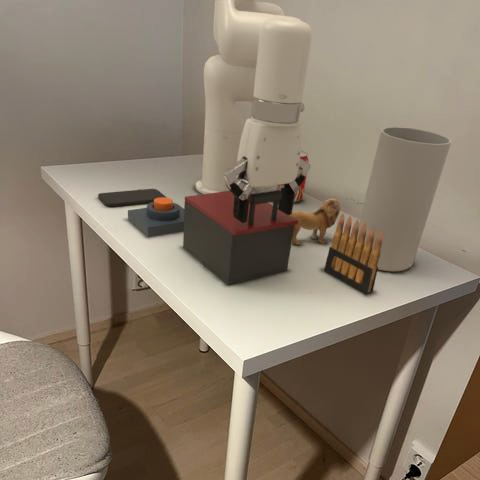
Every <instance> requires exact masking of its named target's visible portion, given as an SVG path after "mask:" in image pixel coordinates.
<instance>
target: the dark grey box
mask: <svg viewBox="0 0 480 480" xmlns="http://www.w3.org/2000/svg"><path fill="white" fill-rule="evenodd" d="M183 208H184V231H183V237H182V248H183V250H184V251H186V252H187V253H188V254H189V255H191V256H192V257H193V258H195V259H196V260H197V261H198V262H199V263H201V264H202V265H203V266H204V267H205V268H207V269H208V271H210V272H211V273H212V274H214V276H216V277H217V278H219V280H221V282H224V283H225V284H226V285H227V286H231V285H234V284H238V283H242V282H246V281H250V280H254V279H258V278H263V277H267V276H270V275H274V274H279V273H283V272H288V267H289V261H290V254H291V250H292V249H291V248H292V243H293V240H292V237H293V231H294V225H290V226H285V227H280V228H274V229H269V230H264V231H258V232H253V233H248V234H242V235H237V236H235V235H233V234H232V233H231V232H229V231H228V230H226V229H225V228H223V227H222V226H221V225H219V224H218V223H216V222H215V221H213V220H212V219H211V218H209V217H208V216H206V215H205V214H203V213H202V212H201V211H199V210H198V209H196V208H195V207H193V206H192V205H191V204H189V203H188V202H186V201H185V200H184V207H183Z"/></svg>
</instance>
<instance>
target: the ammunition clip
mask: <svg viewBox="0 0 480 480" xmlns="http://www.w3.org/2000/svg"><path fill="white" fill-rule="evenodd" d="M337 220H338V221H337V224H336V226H335V227H336V228H335V231H334V233H333V235H332V236H333V237H332V241H331V246H329V249H328V253H327V257H326V261H325V264H324V269H323V271H324V272H326V273H327V274H329V275H331V276H332V277H335V278H336V279H337V280H340V281H341V282H343V283H345V284H347V285H348V286H350V287H352V288H354V289H356V290H357V291H359V292H361V293H363V294H364V295H368V294H371V293H373V292H374V288H375V284H376V279H377V274H378V270H379V269H378V267H377V265H378V261H379V257H380V250H381V245H382V240H383V232H382V230H381V231H380V232H379V234H378V236H377V238H376V241H375V244H374V247H373V250H372V246H373V240H374V235H375V229H374V227H372V228H371V230H370V232H369V234H368V237H367V240H366V243H365V237H366V231H367V226H366V223H364V225H363V226H362V228H361V231H360V233H359V237H358V231H359V222H360V219H356V220H355V222H354V224H353V223H352V222H353V221H352V216H351V215H349V216H348V218H347V220H346V222H345V214H344V212H342V213H341V214H340V216H339V217H338V219H337ZM352 224H353V226H352ZM357 237H358V240H357ZM364 243H365V246H364Z"/></svg>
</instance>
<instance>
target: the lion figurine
mask: <svg viewBox="0 0 480 480" xmlns="http://www.w3.org/2000/svg"><path fill="white" fill-rule="evenodd" d="M340 212H341V205H340V201H339V200H337V199H336V198H333V197H332V198H328V199H326V200H323V204H322V206H320V207H319V208H318V209H317V210H316V211H314V212H304V211H301V210H294V211H292V214H291V215H290V216H292V217H293V218H295V219H297V220H298V224H296V225H294V231H293V237H292V243H293V244H295V245H296V246H300V245H301V241H299V240H298V239H297V236H298V234H299V232H300V230H301V228H302V229H304V230H307V231H312V234H311V238H312V239H314V240H316V239H318V241H319V243H320V244H323V245H324V244H325V243H326V240H325V239H324V238H325V236H326V233H327V230H328V229H329V228H331V227H333V226H334V225H335V224H336V221H337V220H338V219H339V215H340ZM318 231H319V237H318V235H317V234H318Z"/></svg>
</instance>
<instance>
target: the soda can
mask: <svg viewBox="0 0 480 480" xmlns="http://www.w3.org/2000/svg"><path fill="white" fill-rule="evenodd" d="M308 155H309V154H308V152H306V151H304V150H301V152H300V158H301V159H302V160H304V161H305V162H307V163H308V164H309V163H310V160H309V157H308ZM307 177H308V173H307V174H306V176H305V180H304V181H303V183H302V184H301V185H300V186H299V190H298V192H296V193H295V196H294V202H293V204H294V203H298V202H299V201H302V200H303V197H304V194H305V191H306V189H305V188H306V184H307V183H306V182H307ZM281 188H284V186H283V184H281V185H276V190H279V191H280V190H281Z"/></svg>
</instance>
